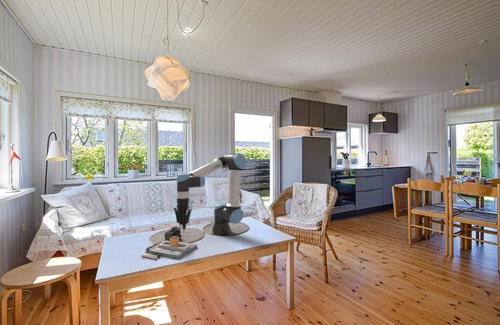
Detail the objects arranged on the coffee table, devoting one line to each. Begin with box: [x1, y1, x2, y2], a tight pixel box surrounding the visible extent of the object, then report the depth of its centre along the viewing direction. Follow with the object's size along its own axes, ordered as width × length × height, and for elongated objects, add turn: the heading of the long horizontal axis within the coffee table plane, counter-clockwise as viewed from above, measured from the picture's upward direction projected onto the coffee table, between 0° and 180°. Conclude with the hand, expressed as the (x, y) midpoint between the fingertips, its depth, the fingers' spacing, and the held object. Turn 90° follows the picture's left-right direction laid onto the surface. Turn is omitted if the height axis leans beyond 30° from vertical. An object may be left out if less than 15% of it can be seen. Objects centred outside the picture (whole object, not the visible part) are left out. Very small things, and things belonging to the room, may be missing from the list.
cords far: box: [140, 251, 162, 260], centre depth 148 cm, size 12×5×2 cm, turn 69°
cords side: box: [145, 241, 163, 252], centre depth 162 cm, size 14×5×2 cm, turn 159°
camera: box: [164, 225, 182, 241], centre depth 178 cm, size 13×10×10 cm
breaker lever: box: [170, 236, 180, 247], centre depth 158 cm, size 4×4×7 cm
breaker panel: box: [149, 240, 198, 260], centre depth 158 cm, size 20×22×4 cm
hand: (182, 234), depth 155 cm, fingers closed
